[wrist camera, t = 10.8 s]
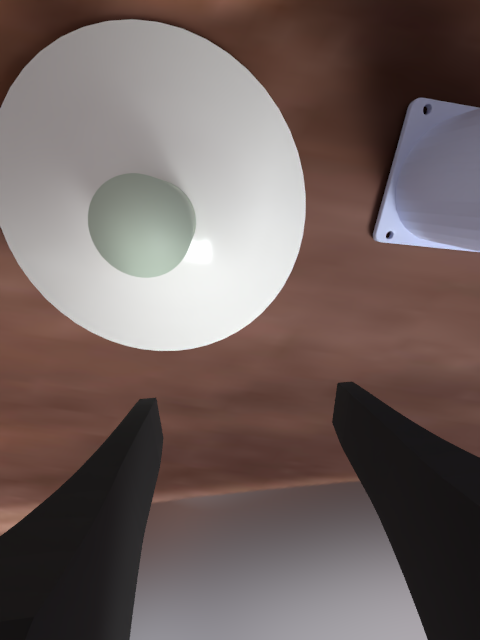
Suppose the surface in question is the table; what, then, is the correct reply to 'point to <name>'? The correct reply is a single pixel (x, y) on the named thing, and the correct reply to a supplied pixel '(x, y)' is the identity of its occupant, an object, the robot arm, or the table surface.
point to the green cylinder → (141, 224)
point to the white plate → (157, 161)
